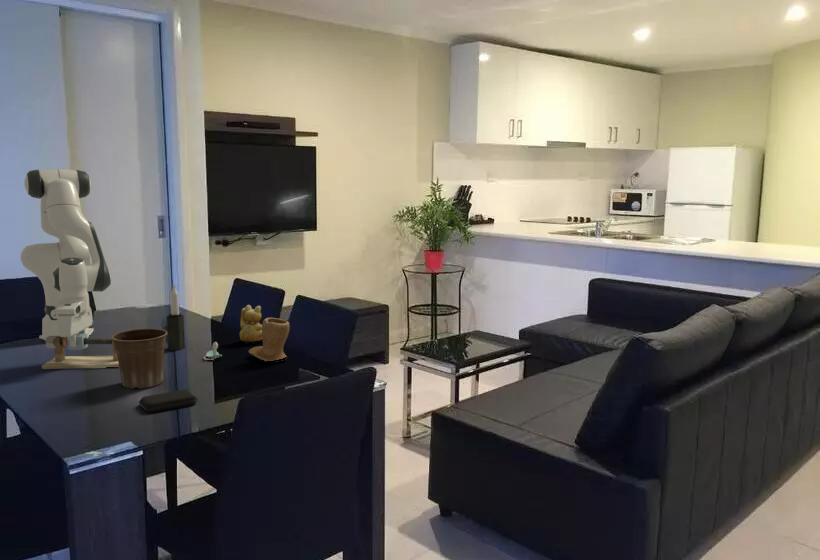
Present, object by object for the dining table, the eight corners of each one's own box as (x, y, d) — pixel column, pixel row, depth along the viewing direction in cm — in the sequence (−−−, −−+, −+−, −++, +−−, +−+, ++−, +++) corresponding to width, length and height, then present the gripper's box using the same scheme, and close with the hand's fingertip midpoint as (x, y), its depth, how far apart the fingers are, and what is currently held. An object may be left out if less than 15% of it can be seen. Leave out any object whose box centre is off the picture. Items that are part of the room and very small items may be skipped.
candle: (179, 350, 250) (176, 285, 247) (166, 349, 251) (163, 285, 248) (186, 347, 255) (183, 283, 251) (174, 346, 256) (171, 283, 252)
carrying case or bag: (187, 396, 198) (136, 405, 190) (187, 386, 198) (135, 395, 189) (199, 405, 190) (146, 416, 181) (199, 395, 189) (146, 405, 181)
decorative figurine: (266, 340, 267) (265, 304, 265) (259, 345, 259) (258, 308, 257) (243, 339, 268) (242, 303, 266) (235, 344, 260) (234, 307, 258)
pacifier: (207, 363, 234) (223, 360, 238) (206, 345, 233) (222, 343, 237) (200, 358, 240) (217, 355, 244) (199, 341, 239) (216, 339, 243)
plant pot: (135, 395, 198) (132, 342, 195) (103, 386, 206) (100, 335, 204) (180, 381, 211) (178, 332, 209) (148, 373, 220) (145, 326, 218)
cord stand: (57, 359, 236) (55, 333, 235) (132, 358, 238) (130, 332, 237) (41, 369, 224) (39, 340, 223) (120, 367, 226) (119, 339, 225)
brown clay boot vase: (295, 360, 237) (294, 320, 235) (264, 366, 230) (263, 324, 228) (277, 352, 249) (276, 313, 247) (247, 356, 242) (246, 316, 240)
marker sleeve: (73, 346, 232) (72, 333, 232) (88, 346, 233) (87, 333, 232) (67, 349, 228) (67, 336, 227) (82, 349, 228) (82, 336, 227)
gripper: (78, 300, 238) (80, 337, 240) (52, 310, 218) (55, 351, 220) (96, 299, 238) (98, 337, 240) (72, 310, 218) (75, 351, 220)
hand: (77, 344), depth 230 cm, fingers closed on marker sleeve, 4 cm apart
